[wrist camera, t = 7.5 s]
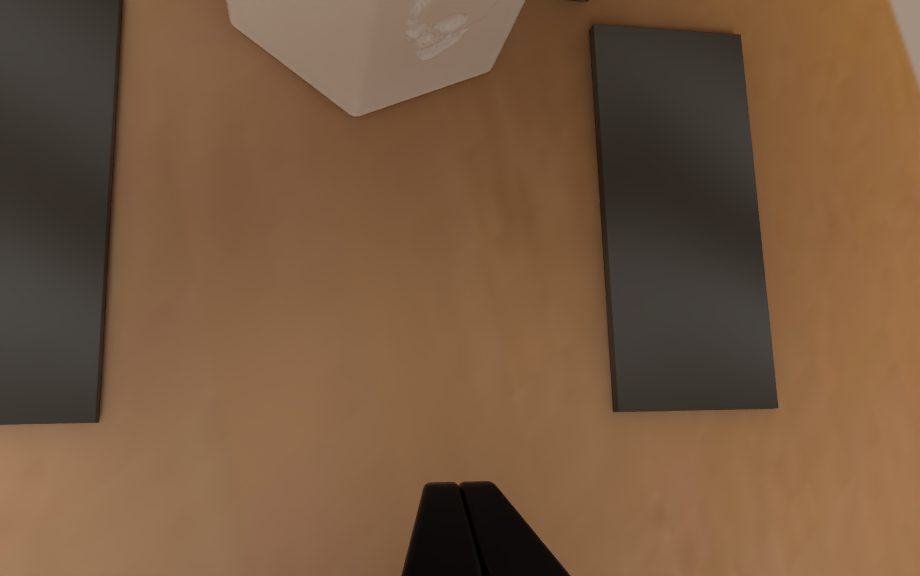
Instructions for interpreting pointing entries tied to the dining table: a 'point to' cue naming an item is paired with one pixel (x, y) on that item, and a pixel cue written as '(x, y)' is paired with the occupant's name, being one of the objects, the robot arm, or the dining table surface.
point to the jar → (378, 44)
